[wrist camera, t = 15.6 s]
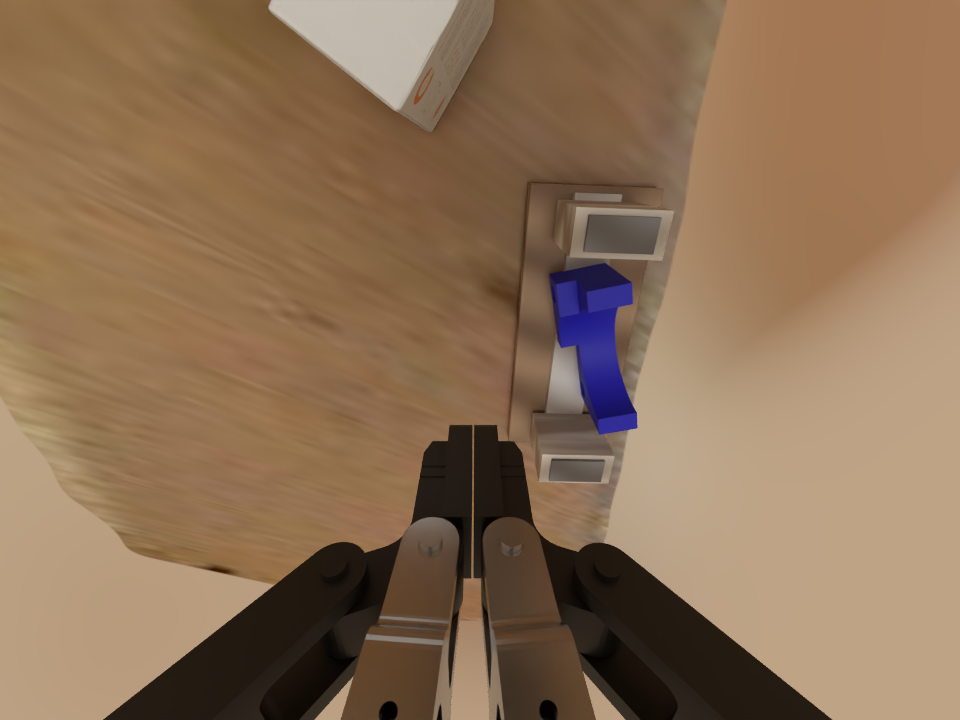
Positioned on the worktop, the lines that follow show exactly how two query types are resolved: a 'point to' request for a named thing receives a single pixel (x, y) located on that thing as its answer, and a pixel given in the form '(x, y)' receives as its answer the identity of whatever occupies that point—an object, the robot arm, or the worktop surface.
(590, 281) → the blue curved piece
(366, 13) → the small box
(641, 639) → the robot arm
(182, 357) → the worktop surface
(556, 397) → the rail board
